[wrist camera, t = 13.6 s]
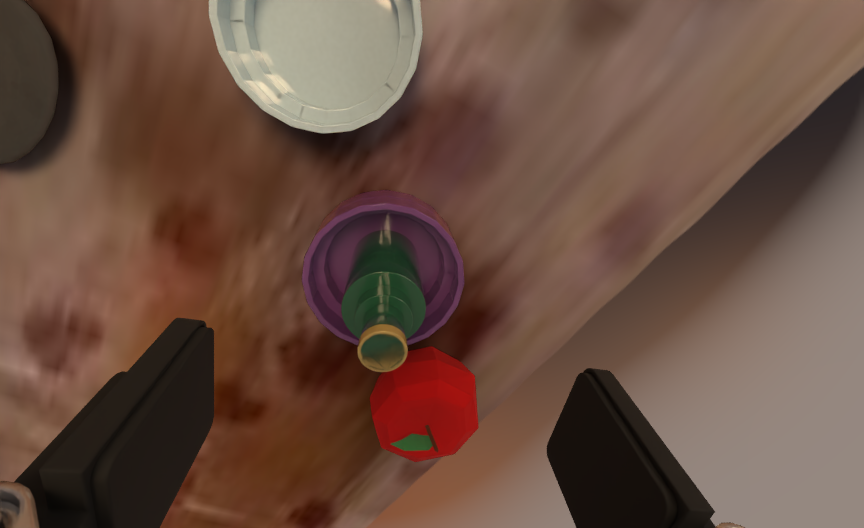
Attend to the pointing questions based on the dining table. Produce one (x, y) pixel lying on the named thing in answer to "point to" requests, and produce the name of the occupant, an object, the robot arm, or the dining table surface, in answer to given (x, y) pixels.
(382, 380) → the apple
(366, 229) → the plum bowl
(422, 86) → the dining table surface
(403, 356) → the bottle
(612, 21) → the dining table surface
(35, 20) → the casserole
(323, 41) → the pale bowl
